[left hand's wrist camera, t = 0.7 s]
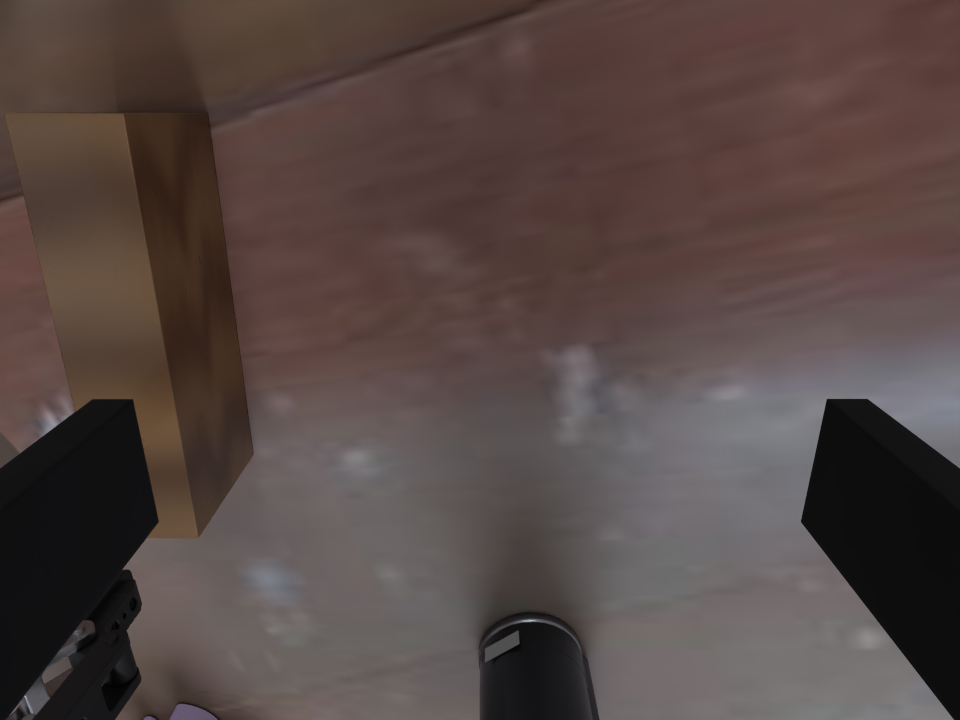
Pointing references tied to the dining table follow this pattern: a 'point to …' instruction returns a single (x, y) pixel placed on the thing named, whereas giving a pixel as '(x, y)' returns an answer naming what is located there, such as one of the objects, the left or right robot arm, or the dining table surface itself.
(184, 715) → the clip
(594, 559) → the dining table surface
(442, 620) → the dining table surface
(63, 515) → the left robot arm
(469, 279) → the dining table surface
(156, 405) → the box
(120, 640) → the right robot arm
